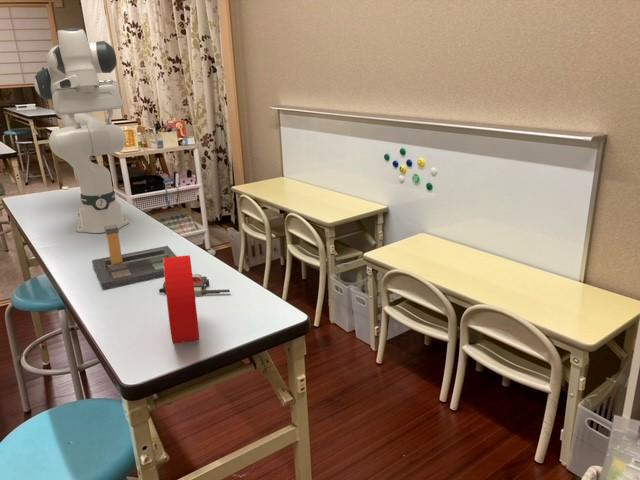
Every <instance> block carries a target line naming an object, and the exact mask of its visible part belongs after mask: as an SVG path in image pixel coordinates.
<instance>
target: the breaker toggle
mask: <svg viewBox="0 0 640 480" xmlns="http://www.w3.org/2000/svg"><path fill="white" fill-rule="evenodd" d="M104 229H105V232H104V233H105V236H106V241H107V248H108V253H109V254H108V255H109V257H110V260H111V264H117V263H122V262H123V261H122V249H121V243H120V237H119V232H120V231H119V229H118V227H117V225H116V224H115V225H109V226H104Z"/></svg>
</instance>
